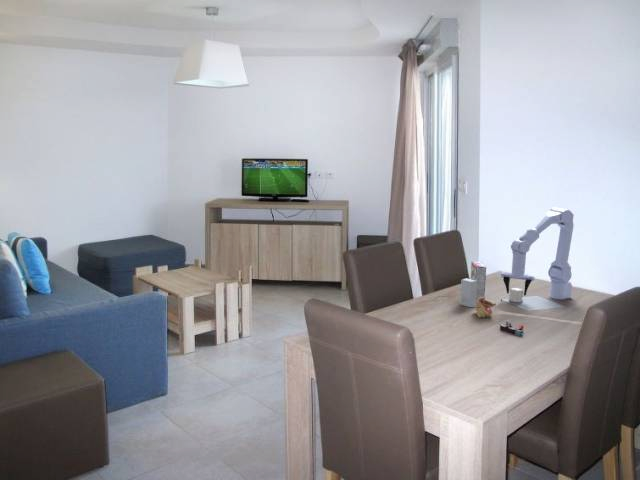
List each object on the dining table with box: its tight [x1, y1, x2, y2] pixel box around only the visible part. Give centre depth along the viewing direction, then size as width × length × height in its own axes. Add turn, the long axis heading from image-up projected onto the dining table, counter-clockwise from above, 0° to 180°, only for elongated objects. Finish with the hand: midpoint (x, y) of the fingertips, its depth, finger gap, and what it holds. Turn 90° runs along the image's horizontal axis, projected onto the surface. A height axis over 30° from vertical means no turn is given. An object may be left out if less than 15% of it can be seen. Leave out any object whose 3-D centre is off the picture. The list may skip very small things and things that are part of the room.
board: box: [500, 295, 565, 312], centre depth 285 cm, size 21×19×1 cm
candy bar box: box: [470, 260, 487, 300], centre depth 295 cm, size 11×5×16 cm, turn 179°
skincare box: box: [460, 278, 477, 308], centre depth 281 cm, size 6×4×12 cm
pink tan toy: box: [473, 296, 497, 319], centre depth 267 cm, size 9×10×10 cm
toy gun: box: [499, 319, 525, 337], centre depth 248 cm, size 10×12×5 cm
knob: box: [508, 287, 524, 302], centre depth 287 cm, size 6×6×5 cm
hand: (516, 293), depth 287 cm, fingers open, 7 cm apart
